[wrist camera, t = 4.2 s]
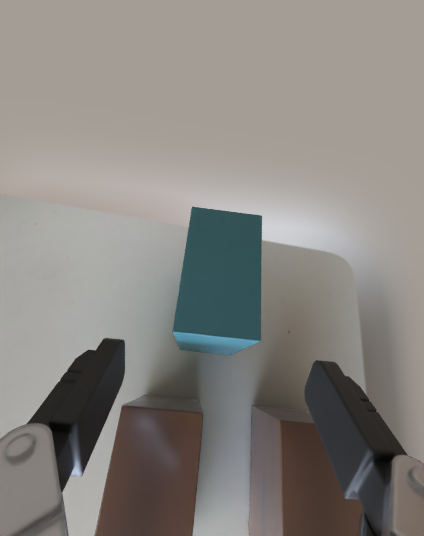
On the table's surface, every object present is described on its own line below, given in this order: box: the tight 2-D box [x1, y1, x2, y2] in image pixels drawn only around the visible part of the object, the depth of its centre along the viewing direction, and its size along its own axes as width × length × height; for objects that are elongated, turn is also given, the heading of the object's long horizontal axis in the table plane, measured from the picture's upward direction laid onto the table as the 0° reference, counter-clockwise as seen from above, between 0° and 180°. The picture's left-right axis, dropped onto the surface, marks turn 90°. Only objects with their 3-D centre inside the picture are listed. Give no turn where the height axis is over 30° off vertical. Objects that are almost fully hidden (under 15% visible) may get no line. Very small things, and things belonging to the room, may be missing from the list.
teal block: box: [173, 207, 262, 355], centre depth 19 cm, size 5×8×10 cm, turn 175°
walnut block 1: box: [94, 395, 203, 536], centre depth 15 cm, size 5×8×7 cm, turn 175°
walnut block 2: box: [249, 406, 363, 536], centre depth 15 cm, size 5×8×7 cm, turn 175°
